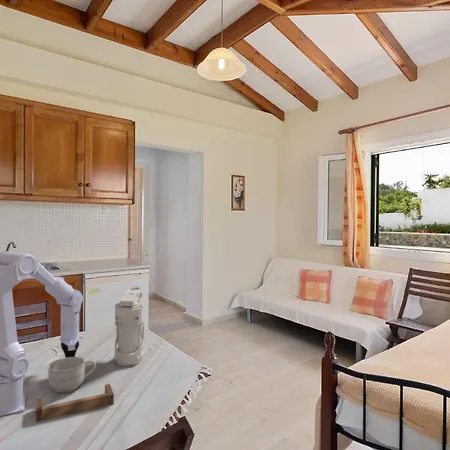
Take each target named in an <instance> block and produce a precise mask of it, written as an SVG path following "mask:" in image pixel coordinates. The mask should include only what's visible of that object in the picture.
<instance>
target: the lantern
mask: <svg viewBox="0 0 450 450" xmlns="http://www.w3.org/2000/svg"><path fill="white" fill-rule="evenodd" d="M141 290H142V289H141V288H139V289H138V288H137V289H134V288H133V289H132V288H129V289H127V290H126V292H125V293H124V294H123V296H122V297H121V299H120V302H118V303H115V304H114V305H115V306H114V325H115V328H116V330H115V331H116V333H115V335H116V336H115V337H116V338H115V342H114V356H113V360H114V361H115V363H116V364H117V365H119V366H124V367H125V366H127V367H128V366H134V365H138V364H140V363H141V362H142V361H143V359H144V353H145V352H144V351H143V348H144V344H145V343H144V342H145V338H144V337H145V336H144V335H145V321H143V310H144V309H145V304H144V303H143V302H142V297H143V292H142V291H141Z"/></svg>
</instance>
